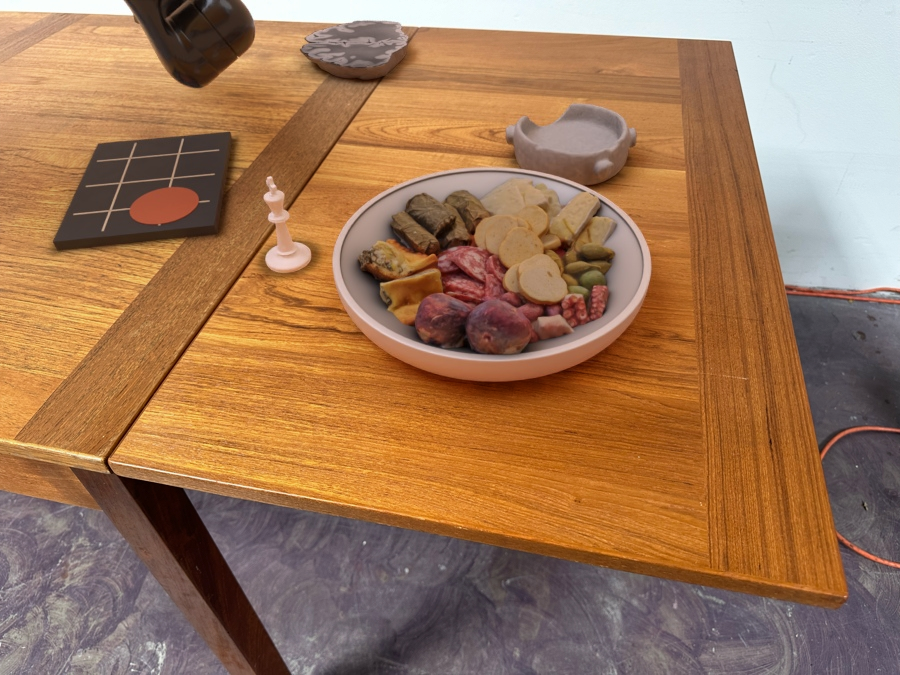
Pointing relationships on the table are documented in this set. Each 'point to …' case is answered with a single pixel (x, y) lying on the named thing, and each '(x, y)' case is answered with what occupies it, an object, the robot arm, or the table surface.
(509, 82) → the table surface
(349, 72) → the brain slice
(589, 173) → the dish
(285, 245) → the chess piece
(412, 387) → the table surface
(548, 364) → the bowl
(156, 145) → the board
